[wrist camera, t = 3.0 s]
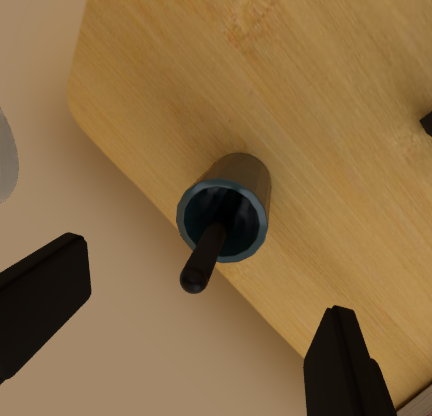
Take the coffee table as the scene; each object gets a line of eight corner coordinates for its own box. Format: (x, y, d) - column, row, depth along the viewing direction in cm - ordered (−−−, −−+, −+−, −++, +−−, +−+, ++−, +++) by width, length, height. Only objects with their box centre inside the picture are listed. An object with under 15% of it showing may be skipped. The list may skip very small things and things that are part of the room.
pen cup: (204, 205, 24) (173, 251, 17) (212, 147, 22) (179, 170, 14) (263, 218, 23) (256, 272, 16) (278, 159, 21) (277, 190, 14)
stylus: (230, 191, 22) (174, 295, 10) (232, 178, 22) (176, 272, 10) (243, 194, 22) (202, 303, 10) (245, 181, 21) (206, 280, 10)
